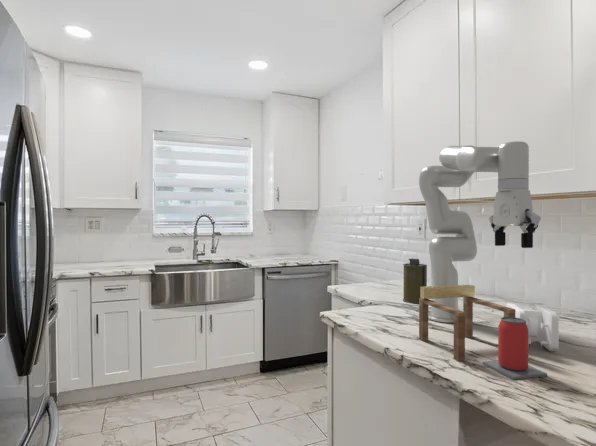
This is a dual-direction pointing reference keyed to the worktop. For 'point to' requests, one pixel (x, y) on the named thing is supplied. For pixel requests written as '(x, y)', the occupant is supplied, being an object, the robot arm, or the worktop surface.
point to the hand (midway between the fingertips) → (512, 246)
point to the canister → (414, 280)
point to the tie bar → (447, 291)
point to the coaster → (514, 374)
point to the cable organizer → (540, 325)
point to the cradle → (457, 320)
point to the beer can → (513, 344)
